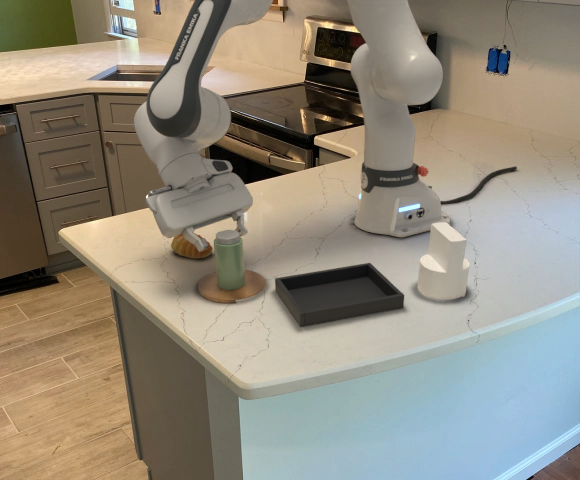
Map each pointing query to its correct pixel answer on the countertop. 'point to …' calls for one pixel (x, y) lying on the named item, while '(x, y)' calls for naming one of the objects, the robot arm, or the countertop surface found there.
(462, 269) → the base with upright slab
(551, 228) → the countertop surface
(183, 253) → the pastry
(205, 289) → the coaster
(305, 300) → the tray
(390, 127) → the robot arm
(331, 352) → the countertop surface
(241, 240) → the salt shaker
